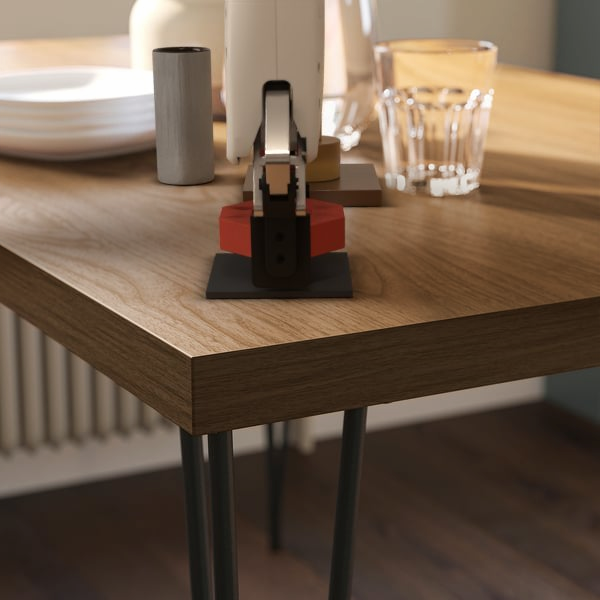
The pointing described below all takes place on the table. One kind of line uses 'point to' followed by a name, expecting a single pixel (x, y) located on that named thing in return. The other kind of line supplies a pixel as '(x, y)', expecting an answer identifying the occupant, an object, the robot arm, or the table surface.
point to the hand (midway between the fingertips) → (282, 264)
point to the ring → (322, 214)
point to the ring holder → (333, 178)
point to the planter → (183, 115)
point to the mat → (238, 284)
